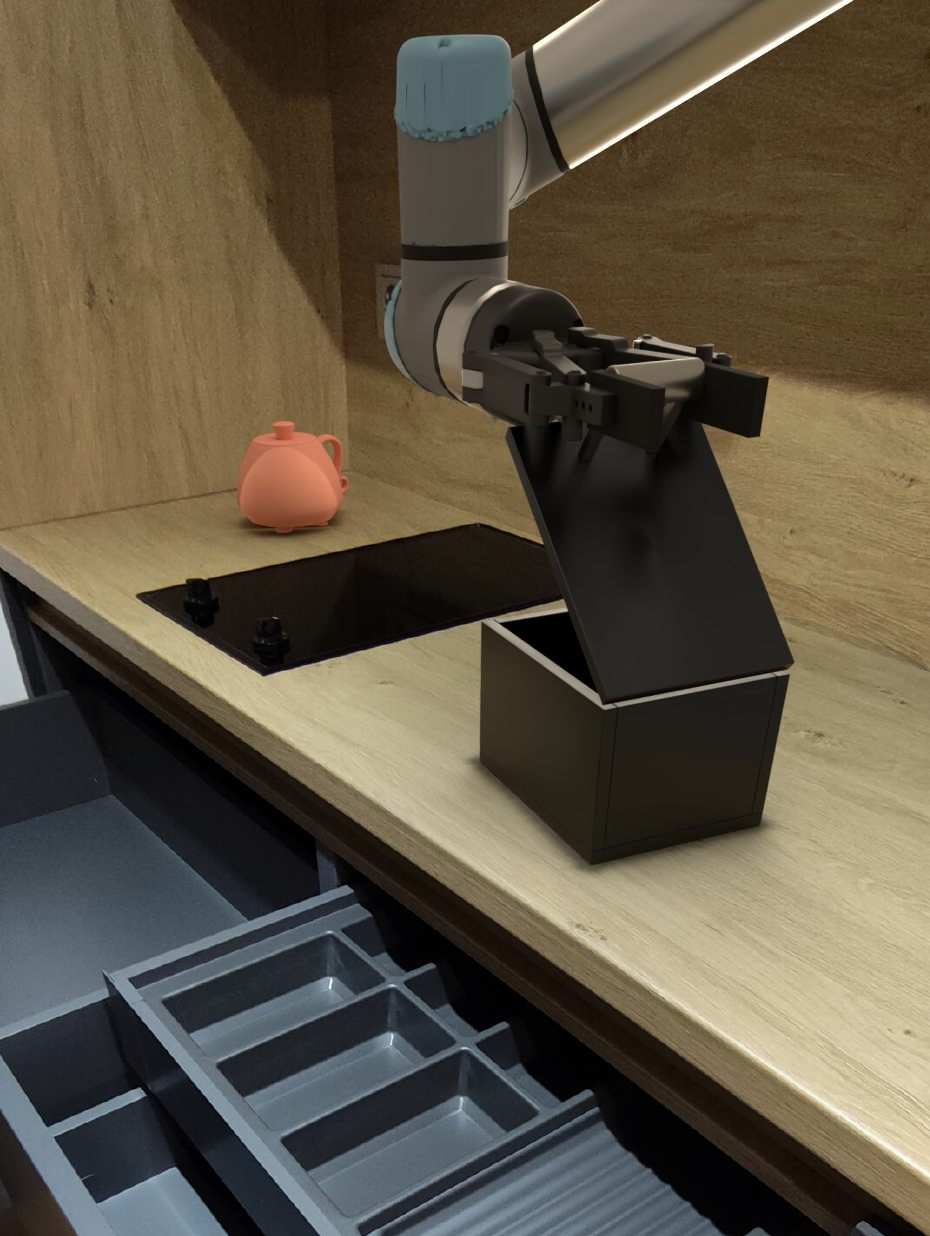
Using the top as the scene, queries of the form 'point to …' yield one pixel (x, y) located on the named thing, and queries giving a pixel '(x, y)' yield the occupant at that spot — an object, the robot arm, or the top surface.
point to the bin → (621, 744)
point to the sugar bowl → (291, 479)
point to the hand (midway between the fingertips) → (707, 413)
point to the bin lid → (650, 550)
